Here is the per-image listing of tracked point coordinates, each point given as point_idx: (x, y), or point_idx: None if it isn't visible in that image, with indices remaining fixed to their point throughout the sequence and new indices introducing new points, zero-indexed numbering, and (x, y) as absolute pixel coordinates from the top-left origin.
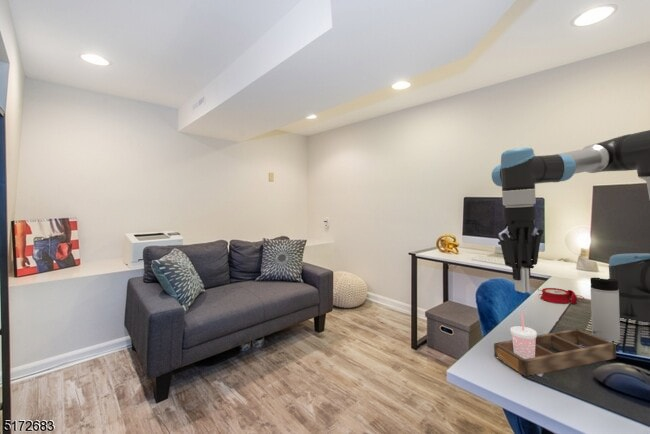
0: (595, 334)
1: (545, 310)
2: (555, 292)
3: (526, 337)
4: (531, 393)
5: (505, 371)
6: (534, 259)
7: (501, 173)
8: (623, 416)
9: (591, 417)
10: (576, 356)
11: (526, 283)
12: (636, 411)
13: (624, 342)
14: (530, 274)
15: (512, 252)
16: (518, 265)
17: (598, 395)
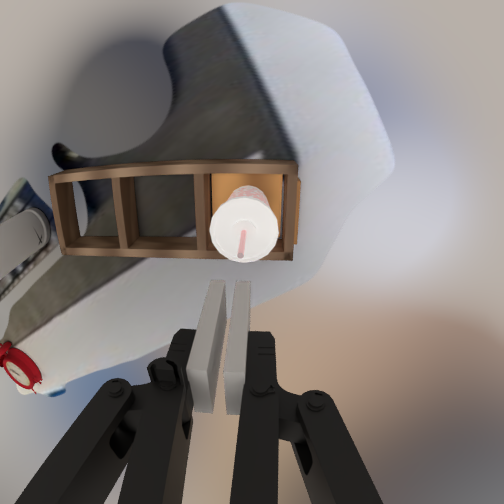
0: (42, 236)
1: (54, 349)
2: (18, 373)
3: (262, 202)
4: (330, 114)
5: (315, 190)
6: (113, 410)
7: None
8: (231, 22)
9: (287, 34)
10: (146, 164)
11: (220, 308)
12: (196, 27)
13: None
14: (170, 345)
15: (341, 497)
16: (273, 400)
17: (211, 71)
